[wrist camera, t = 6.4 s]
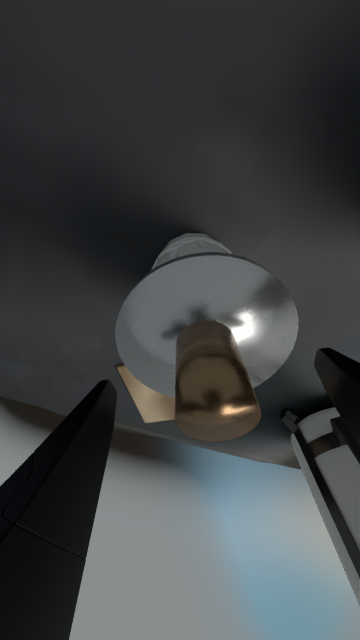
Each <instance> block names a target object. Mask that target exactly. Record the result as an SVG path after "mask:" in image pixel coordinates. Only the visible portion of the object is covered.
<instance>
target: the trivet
mask: <svg viewBox="0 0 360 640" xmlns="http://www.w3.org/2000/svg"><path fill="white" fill-rule="evenodd" d="M117 369H118V371H119V373H120V375H121V377H122V379H123V381H124V382H125V384H126V386H127V388H128V390H129V392H130V394H131V396H132V398H133V400H134V402H135V404H136V406H137V408H138V410H139V412H140V414H141V416H142V418H143V420H144V422H145V423H150V422H158V421H166V420H174V419H175V398H172V397H169V396H166V395H163V394H160V393H158V392H156V391H154V390H152V389H150V388H148V387H147V386H145V385H144V384H142V383H141V382H140V381H138V380H137V379H136V378H135V377H134V376H133V375H132V374H131V373H130V372H129V370H128V369H127V368H126V366H125V365H124V364H122V365H118V366H117Z"/></svg>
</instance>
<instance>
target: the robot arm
mask: <svg viewBox="0 0 360 640" xmlns="http://www.w3.org/2000/svg"><path fill="white" fill-rule="evenodd" d="M314 366H315V369H316V371H317V373H318V375H319V377H320V379H321V381H322V383H323V385H324V387H325V390H326V392H327V394H328V396H329V398H330V400H331V402H332V403H333V405H334V407H335V408H336V410H337V412H338V413H339V415H340V416H341V418H342V420H343V421H344V423H345V424H346V426H347V428H348V429H349V431H350V432H351V434H352V436H353V437H354V439H355V440H356V442H357V444H358V445H359V447H360V363H359V362H357V361H355V360H353V359H351V358H349V357H347V356H345V355H343V354H341V353H339V352H337V351H335V350H333V349H331V348H321V349H318V350H317V352H316V357H315V362H314ZM116 401H117V391H116V389H115V387H114V386H113V384H112V382H111V381H110V380H102V381H100V382H99V383H98V384H97V385H96V386H95V387H94V388H93V389H92V390H91V391H90V392H89V393H88V394H87V395H86V397H85V398H84V399H83V400H82V401H81V402H80V403H79V404H78V405H77V406H76V407H75V408H74V409H73V410H72V412H71V413H70V414H69V415H68V416H67V417H66V418H65V419H64V420H63V421H62V422H61V423H60V424H59V426H58V427H57V428H56V429H55V430H54V431H53V432H52V433H51V434H50V435H49V436H48V437H47V438H46V439H45V440H44V442H43V443H42V444H41V445H40V446H39V447H38V448H37V449H36V450H35V451H34V453H32V454H31V455H30V456H29V457H28V459H27V460H26V461H25V462H24V463H23V464H22V465H21V466H20V467H19V468H18V469H17V470H16V471H15V472H14V473H13V474H12V475H11V476H10V477H9V478H8V479H7V480H6V481H5V482H4V483H3V484H2V485H1V486H0V640H69V636H70V632H71V627H72V622H73V618H74V613H75V607H76V603H77V598H78V594H79V589H80V584H81V580H82V575H83V571H84V566H85V561H86V559H85V558H86V556H87V551H88V546H89V541H90V537H91V532H92V527H93V523H94V518H95V513H96V508H97V504H98V499H99V495H100V490H101V485H102V481H103V476H104V471H105V466H106V461H107V457H108V452H109V448H110V443H111V438H112V433H113V428H114V420H115V410H116Z"/></svg>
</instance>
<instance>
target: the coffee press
mask: <svg viewBox="0 0 360 640" xmlns="http://www.w3.org/2000/svg"><path fill="white" fill-rule="evenodd" d="M280 419H281V421H282V422H283V423H284V424H285V425H286V426H287V427H288V428H289V429H290V430H291V431H292V435H291V444H292V447H293V449H294V452H295V454H296V457H297V459H298V461H299V464H300V466H301V469H302V471H303V473H304V475H305V478H306V480H307V483H308V485H309V487H310V490H311V492H312V495H313V497H314V499H315V502H316V504H317V506H318V509H319V511H320V514H321V516H322V518H323V521H324V523H325V525H326V528H327V530H328V532H329V535H330V537H331V539H332V542H333V544H334V546H335V549H336V551H337V553H338V556H339V558H340V561H341V563H342V565H343V568H344V570H345V572H346V575H347V577H348V579H349V582H350V584H351V587H352V589H353V591H354V594H355V596H356V598H357V601H358V603H359V605H360V447H359V445H358V444H357V442H356V440H355V439H354V437H353V436H352V434H351V432H350V431H349V429H348V428H347V426H346V424H345V423H344V421H343V420H342V418H341V416H340V415H339V413H338V412H337V410H336V408H335V407H334V408H329V409H325V410H322V411H319V412H316V413H314V414H311V415H309V416H308V417H306V418H300V417H299V416H297V415H296V414H294V413H293V412H292V411H290V410H288V409H285V410H284V411H283V413H282V414H281V415H280ZM295 423H296V424H297V425H296V424H295Z"/></svg>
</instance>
